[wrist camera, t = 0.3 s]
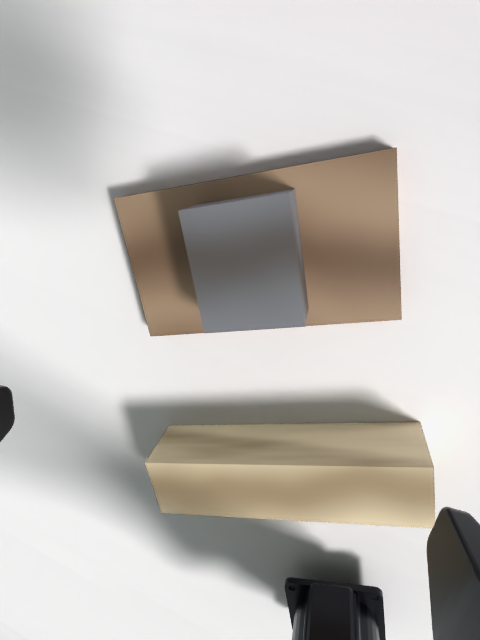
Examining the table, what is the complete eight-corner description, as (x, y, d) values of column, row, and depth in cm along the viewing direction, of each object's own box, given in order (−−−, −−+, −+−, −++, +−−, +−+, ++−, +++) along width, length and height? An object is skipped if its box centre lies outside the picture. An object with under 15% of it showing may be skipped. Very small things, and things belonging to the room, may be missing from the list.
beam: (421, 473, 24) (435, 528, 21) (183, 468, 29) (161, 513, 25) (419, 418, 23) (433, 467, 19) (170, 422, 27) (144, 462, 24)
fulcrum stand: (399, 312, 21) (409, 340, 17) (157, 329, 24) (130, 355, 21) (393, 148, 18) (405, 145, 15) (123, 196, 22) (86, 203, 19)
